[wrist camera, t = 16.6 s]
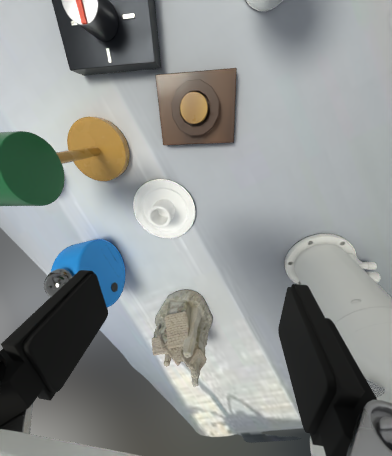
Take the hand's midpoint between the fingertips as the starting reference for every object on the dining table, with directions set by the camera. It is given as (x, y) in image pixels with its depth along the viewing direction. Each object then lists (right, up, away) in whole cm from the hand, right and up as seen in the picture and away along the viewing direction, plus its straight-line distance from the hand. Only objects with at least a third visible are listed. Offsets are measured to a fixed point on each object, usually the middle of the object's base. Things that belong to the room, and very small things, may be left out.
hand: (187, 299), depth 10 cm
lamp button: (0, +20, +18) cm, 27 cm away
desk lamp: (-16, +17, +25) cm, 34 cm away
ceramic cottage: (-3, -19, +41) cm, 45 cm away
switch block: (+1, +21, +20) cm, 29 cm away
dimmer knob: (-11, +29, +14) cm, 34 cm away
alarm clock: (-19, -2, +35) cm, 40 cm away
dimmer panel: (-11, +30, +17) cm, 36 cm away
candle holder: (-6, +7, +28) cm, 30 cm away
